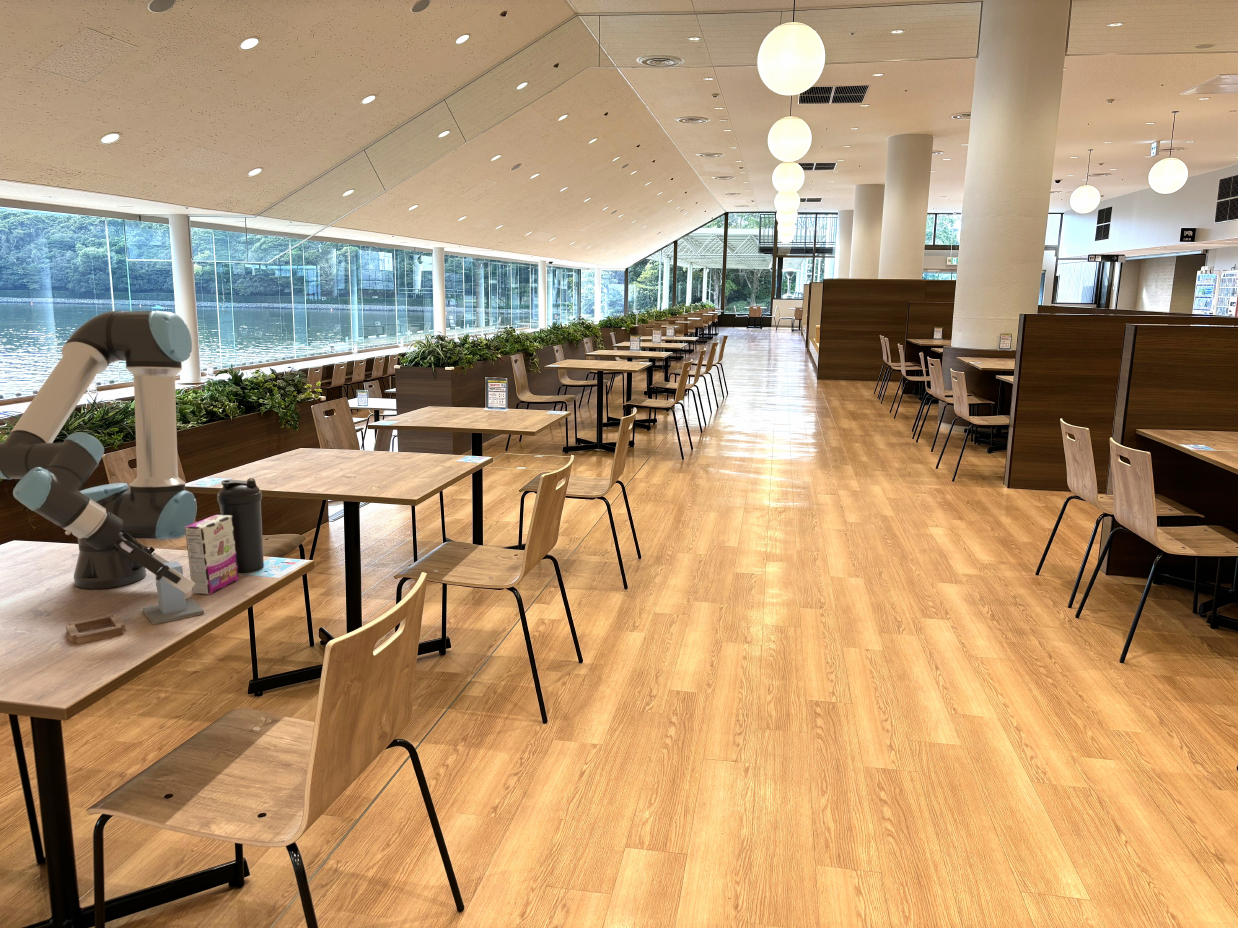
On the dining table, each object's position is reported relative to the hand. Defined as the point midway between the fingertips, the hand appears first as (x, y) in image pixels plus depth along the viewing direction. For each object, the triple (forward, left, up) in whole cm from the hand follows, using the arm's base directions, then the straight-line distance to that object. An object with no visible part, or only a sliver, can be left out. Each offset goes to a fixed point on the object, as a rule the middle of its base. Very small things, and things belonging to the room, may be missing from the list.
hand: (182, 580), depth 189 cm
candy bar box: (-12, +9, -7) cm, 17 cm away
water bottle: (-22, +19, -7) cm, 30 cm away
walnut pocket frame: (+2, -18, -7) cm, 19 cm away
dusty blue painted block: (0, -3, -6) cm, 6 cm away
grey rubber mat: (0, -3, -7) cm, 7 cm away
